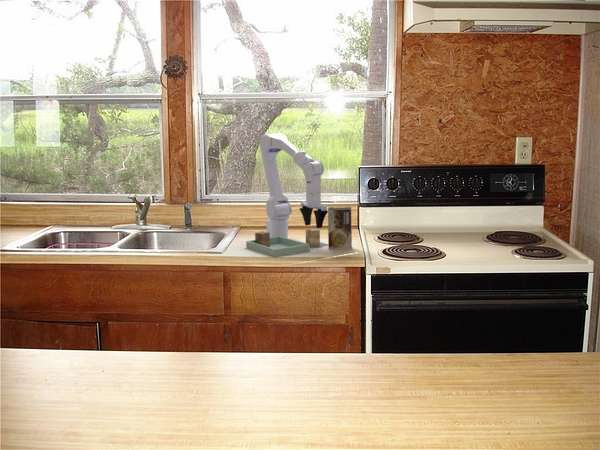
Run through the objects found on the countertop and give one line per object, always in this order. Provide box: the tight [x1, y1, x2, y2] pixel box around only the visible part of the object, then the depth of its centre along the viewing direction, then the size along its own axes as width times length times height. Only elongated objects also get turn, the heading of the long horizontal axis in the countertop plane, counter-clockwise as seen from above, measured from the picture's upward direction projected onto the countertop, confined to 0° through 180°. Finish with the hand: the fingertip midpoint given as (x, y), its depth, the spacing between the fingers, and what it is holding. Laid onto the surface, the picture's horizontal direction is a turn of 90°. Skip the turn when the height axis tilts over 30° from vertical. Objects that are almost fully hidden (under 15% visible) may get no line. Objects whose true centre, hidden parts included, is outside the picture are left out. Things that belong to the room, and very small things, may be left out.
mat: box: [310, 241, 328, 249], centre depth 257 cm, size 10×10×1 cm
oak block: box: [305, 228, 321, 246], centre depth 256 cm, size 4×4×6 cm
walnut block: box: [254, 230, 270, 247], centre depth 252 cm, size 4×4×6 cm
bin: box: [245, 236, 311, 258], centre depth 249 cm, size 20×16×3 cm
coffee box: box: [327, 206, 353, 250], centre depth 250 cm, size 9×6×16 cm
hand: (313, 226), depth 256 cm, fingers open, 7 cm apart
